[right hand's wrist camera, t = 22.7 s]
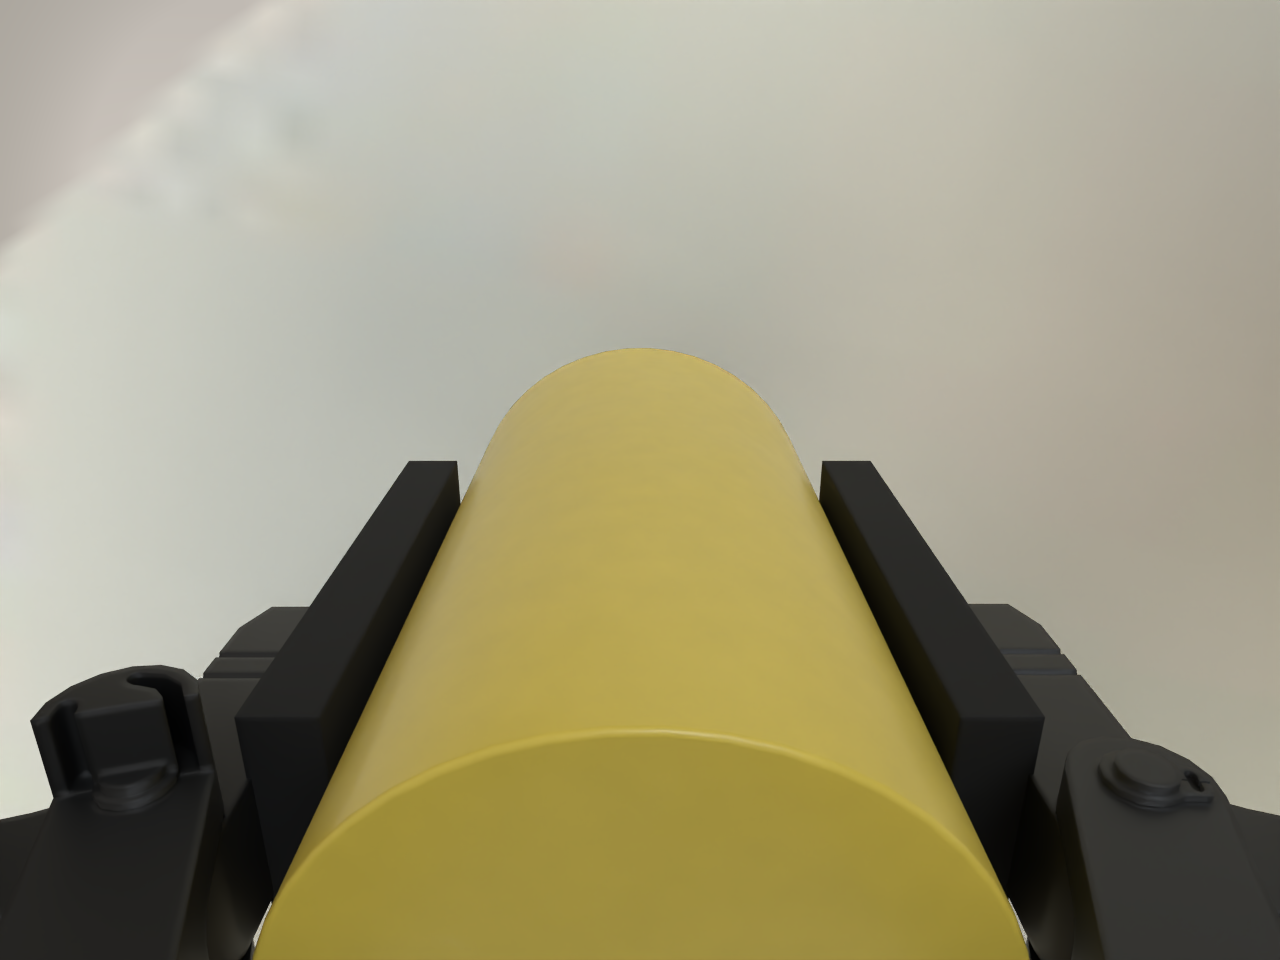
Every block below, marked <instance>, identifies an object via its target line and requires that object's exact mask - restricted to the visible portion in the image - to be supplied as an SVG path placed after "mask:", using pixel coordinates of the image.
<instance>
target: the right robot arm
mask: <svg viewBox="0 0 1280 960" xmlns="http://www.w3.org/2000/svg"><path fill="white" fill-rule="evenodd" d="M819 502H820V504H821V506H822V508H823V511H824V513H825V515H826V517H827V519H828V521H829V523H830V525H831V527H832V530H833V532H834V534H835V536H836V538H837V540H838V542H839V544H840V546H841V549H842V551H843V553H844V555H845V557H846V559H847V561H848V563H849V565H850V568H851V570H852V572H853V574H854V576H855V578H856V580H857V582H858V584H859V587H860V589H861V591H862V593H863V595H864V597H865V599H866V601H867V603H868V606H869V608H870V610H871V612H872V614H873V616H874V618H875V620H876V622H877V625H878V627H879V629H880V631H881V633H882V635H883V637H884V639H885V641H886V644H887V646H888V648H889V650H890V652H891V654H892V656H893V658H894V660H895V662H896V665H897V667H898V669H899V671H900V673H901V675H902V677H903V679H904V681H905V684H906V686H907V688H908V690H909V692H910V694H911V696H912V698H913V700H914V703H915V705H916V707H917V709H918V711H919V713H920V715H921V717H922V719H923V722H924V724H925V726H926V728H927V730H928V732H929V734H930V736H931V738H932V741H933V743H934V745H935V747H936V749H937V751H938V753H939V755H940V757H941V760H942V762H943V764H944V766H945V768H946V770H947V772H948V774H949V776H950V779H951V781H952V783H953V785H954V787H955V789H956V791H957V793H958V795H959V798H960V800H961V802H962V804H963V806H964V808H965V810H966V812H967V814H968V817H969V819H970V821H971V823H972V825H973V827H974V829H975V831H976V833H977V836H978V838H979V840H980V842H981V844H982V846H983V848H984V850H985V852H986V855H987V857H988V859H989V861H990V863H991V865H992V867H993V869H994V871H995V873H996V876H997V878H998V880H999V882H1000V884H1001V886H1002V888H1003V890H1004V892H1005V895H1006V897H1007V899H1008V900H1009V898H1010V901H1011V903H1012V905H1013V907H1014V909H1015V911H1016V913H1017V915H1018V917H1019V919H1020V922H1021V924H1022V926H1023V928H1024V930H1025V932H1026V934H1027V936H1028V937H1027V941H1026V947H1027V949H1028V953H1029V959H1030V960H1280V816H1279V815H1274V814H1269V813H1264V812H1260V811H1255V810H1250V809H1246V808H1242V807H1239V806H1235V805H1231V804H1230V803H1229V801H1228V799H1227V797H1226V795H1225V794H1224V793H1223V791H1222V790H1221V789H1220V787H1219V786H1218V784H1217V783H1216V782H1215V780H1214V779H1213V778H1212V777H1211V776H1210V775H1209V774H1207V773H1206V772H1205V771H1203V770H1202V769H1201V768H1199V767H1198V766H1197V765H1195V764H1194V763H1193V762H1191V761H1190V760H1189V759H1187V758H1184V757H1182V756H1180V755H1178V754H1176V753H1174V752H1172V751H1170V750H1168V749H1165V748H1163V747H1161V746H1158V745H1155V744H1151V743H1147V742H1144V741H1140V740H1136V739H1132V738H1131V737H1130V736H1129V735H1128V734H1127V732H1126V731H1125V730H1124V729H1123V727H1122V726H1121V725H1120V724H1119V722H1118V721H1117V720H1116V719H1115V717H1114V716H1113V715H1112V714H1111V712H1110V711H1109V710H1108V709H1107V707H1106V706H1105V705H1104V704H1103V702H1102V701H1101V700H1100V699H1099V697H1098V696H1097V695H1096V693H1095V692H1094V691H1093V690H1092V688H1091V687H1090V686H1089V685H1088V683H1087V682H1086V681H1085V680H1084V678H1083V677H1082V676H1081V675H1077V670H1076V668H1075V667H1074V666H1073V665H1072V663H1071V662H1070V661H1069V660H1068V658H1067V657H1066V656H1065V655H1064V654H1061V653H1060V648H1059V647H1058V646H1057V645H1056V643H1055V642H1054V641H1053V640H1052V638H1051V637H1050V636H1049V635H1048V633H1047V632H1046V631H1045V630H1044V628H1043V627H1042V626H1041V625H1040V624H1038V623H1037V622H1035V621H1034V620H1032V619H1031V618H1029V617H1027V616H1026V615H1024V614H1023V613H1021V612H1020V611H1018V610H1016V609H1015V608H1013V607H1012V606H1010V605H1009V604H968V603H967V602H966V600H965V599H964V597H963V596H962V595H961V593H960V592H959V590H958V589H957V587H956V586H955V584H954V583H953V581H952V580H951V578H950V577H949V575H948V574H947V573H946V571H945V570H944V568H943V567H942V565H941V564H940V562H939V561H938V559H937V558H936V556H935V555H934V553H933V552H932V551H931V549H930V548H929V546H928V545H927V543H926V542H925V540H924V539H923V537H922V536H921V534H920V533H919V531H918V530H917V529H916V527H915V526H914V524H913V523H912V521H911V520H910V518H909V517H908V515H907V514H906V512H905V511H904V510H903V508H902V507H901V505H900V504H899V502H898V501H897V499H896V498H895V496H894V495H893V493H892V492H891V490H890V489H889V488H888V486H887V485H886V483H885V482H884V480H883V479H882V477H881V476H880V474H879V473H878V471H877V470H876V468H875V467H874V466H873V464H872V463H871V461H822V473H821V485H820V497H819ZM459 507H460V492H459V480H458V468H457V461H409V462H408V463H407V465H406V466H405V468H404V469H403V471H402V472H401V473H400V475H399V476H398V478H397V479H396V481H395V482H394V484H393V485H392V487H391V488H390V490H389V491H388V492H387V494H386V495H385V497H384V498H383V500H382V501H381V503H380V504H379V506H378V507H377V509H376V510H375V512H374V513H373V514H372V516H371V517H370V519H369V520H368V522H367V523H366V525H365V526H364V528H363V529H362V531H361V532H360V534H359V535H358V536H357V538H356V539H355V541H354V542H353V544H352V545H351V547H350V548H349V550H348V551H347V553H346V554H345V555H344V557H343V558H342V560H341V561H340V563H339V564H338V566H337V567H336V569H335V570H334V572H333V573H332V575H331V576H330V577H329V579H328V580H327V582H326V583H325V585H324V586H323V588H322V589H321V591H320V592H319V594H318V595H317V597H316V598H315V599H314V601H313V602H312V604H311V605H310V607H271V608H269V609H268V610H266V611H265V612H263V613H262V614H260V615H259V616H257V617H255V618H254V619H252V620H251V621H249V622H248V623H246V624H245V625H243V626H241V627H240V628H239V629H238V630H237V631H236V633H235V634H234V635H233V636H232V638H231V639H230V640H229V641H228V643H227V644H226V645H225V646H224V648H223V649H222V650H221V651H220V656H219V657H216V658H215V659H214V660H213V662H212V663H211V664H210V665H209V667H208V668H207V669H206V670H205V672H204V673H203V678H199V679H198V680H197V679H195V678H194V677H193V676H191V675H190V674H189V673H188V672H186V671H185V670H183V669H178V668H174V667H169V666H164V665H152V666H133V667H128V668H124V669H120V670H116V671H111V672H107V673H103V674H100V675H97V676H95V677H92V678H90V679H88V680H85V681H83V682H80V683H78V684H76V685H73V686H71V687H69V688H68V689H66V690H65V691H63V692H62V693H60V694H58V695H57V696H55V697H54V698H52V699H51V700H49V701H48V702H46V703H45V704H44V705H43V707H42V708H41V709H40V710H39V711H38V712H37V714H36V715H35V716H34V717H33V718H32V719H31V720H30V722H31V725H32V728H33V732H34V735H35V738H36V741H37V745H38V748H39V751H40V755H41V758H42V761H43V765H44V768H45V771H46V774H47V778H48V781H49V784H50V788H51V791H52V794H53V797H54V798H53V801H52V803H51V805H50V807H49V808H48V809H44V810H41V811H37V812H33V813H29V814H24V815H20V816H15V817H10V818H6V819H1V820H0V960H252V956H253V953H254V950H255V946H254V941H253V938H254V935H255V933H256V931H257V929H258V927H259V925H260V923H261V921H262V919H263V916H264V914H265V912H266V910H267V908H268V906H269V904H270V902H271V903H273V901H274V899H275V897H276V895H277V893H278V890H279V888H280V886H281V884H282V882H283V880H284V878H285V876H286V874H287V871H288V869H289V867H290V865H291V863H292V861H293V859H294V857H295V854H296V852H297V850H298V848H299V846H300V844H301V842H302V840H303V837H304V835H305V833H306V831H307V829H308V827H309V825H310V823H311V821H312V818H313V816H314V814H315V812H316V810H317V808H318V806H319V804H320V801H321V799H322V797H323V795H324V793H325V791H326V789H327V787H328V784H329V782H330V780H331V778H332V776H333V774H334V772H335V770H336V768H337V765H338V763H339V761H340V759H341V757H342V755H343V753H344V751H345V748H346V746H347V744H348V742H349V740H350V738H351V736H352V734H353V731H354V729H355V727H356V725H357V723H358V721H359V719H360V717H361V714H362V712H363V710H364V708H365V706H366V704H367V702H368V700H369V698H370V695H371V693H372V691H373V689H374V687H375V685H376V683H377V681H378V678H379V676H380V674H381V672H382V670H383V668H384V666H385V664H386V661H387V659H388V657H389V655H390V653H391V651H392V649H393V647H394V645H395V642H396V640H397V638H398V636H399V634H400V632H401V630H402V628H403V625H404V623H405V621H406V619H407V617H408V615H409V613H410V611H411V608H412V606H413V604H414V602H415V600H416V598H417V596H418V594H419V592H420V589H421V587H422V585H423V583H424V581H425V579H426V577H427V575H428V572H429V570H430V568H431V566H432V564H433V562H434V560H435V558H436V555H437V553H438V551H439V549H440V547H441V545H442V543H443V541H444V539H445V536H446V534H447V532H448V530H449V528H450V526H451V524H452V522H453V519H454V517H455V515H456V513H457V511H458V509H459Z"/></svg>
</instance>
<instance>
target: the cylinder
mask: <svg viewBox="0 0 1280 960" xmlns="http://www.w3.org/2000/svg"><path fill="white" fill-rule="evenodd" d="M252 960H1030V959H1029V953H1028V949H1027V947H1026V944H1025V941H1024V938H1023V935H1022V933H1021V930H1020V927H1019V924H1018V922H1017V919H1016V916H1015V914H1014V911H1013V909H1012V907H1011V905H1010V903H1009V901H1008V899H1007V897H1006V895H1005V892H1004V890H1003V888H1002V886H1001V884H1000V882H999V880H998V878H997V876H996V873H995V871H994V869H993V867H992V865H991V863H990V861H989V859H988V857H987V855H986V852H985V850H984V848H983V846H982V844H981V842H980V840H979V838H978V836H977V833H976V831H975V829H974V827H973V825H972V823H971V821H970V819H969V817H968V814H967V812H966V810H965V808H964V806H963V804H962V802H961V800H960V798H959V795H958V793H957V791H956V789H955V787H954V785H953V783H952V781H951V779H950V776H949V774H948V772H947V770H946V768H945V766H944V764H943V762H942V760H941V757H940V755H939V753H938V751H937V749H936V747H935V745H934V743H933V741H932V738H931V736H930V734H929V732H928V730H927V728H926V726H925V724H924V722H923V719H922V717H921V715H920V713H919V711H918V709H917V707H916V705H915V703H914V700H913V698H912V696H911V694H910V692H909V690H908V688H907V686H906V684H905V681H904V679H903V677H902V675H901V673H900V671H899V669H898V667H897V665H896V662H895V660H894V658H893V656H892V654H891V652H890V650H889V648H888V646H887V644H886V641H885V639H884V637H883V635H882V633H881V631H880V629H879V627H878V625H877V622H876V620H875V618H874V616H873V614H872V612H871V610H870V608H869V606H868V603H867V601H866V599H865V597H864V595H863V593H862V591H861V589H860V587H859V584H858V582H857V580H856V578H855V576H854V574H853V572H852V570H851V568H850V565H849V563H848V561H847V559H846V557H845V555H844V553H843V551H842V549H841V546H840V544H839V542H838V540H837V538H836V536H835V534H834V532H833V530H832V527H831V525H830V523H829V521H828V519H827V517H826V515H825V513H824V511H823V508H822V506H821V504H820V502H819V500H818V498H817V496H816V494H815V492H814V489H813V487H812V485H811V483H810V481H809V479H808V477H807V475H806V473H805V470H804V468H803V466H802V464H801V462H800V460H799V458H798V456H797V454H796V452H795V449H794V447H793V445H792V443H791V441H790V439H789V437H788V435H787V433H786V432H785V430H784V428H783V426H782V424H781V423H780V421H779V419H778V418H777V417H776V415H775V414H774V413H773V411H772V410H771V409H770V407H769V406H768V405H767V403H766V402H765V401H764V400H763V399H762V398H761V397H759V396H758V395H757V394H756V393H755V392H754V391H753V390H752V389H751V388H750V387H749V386H747V385H746V384H745V383H744V382H742V381H741V380H740V379H738V378H737V377H736V376H734V375H732V374H731V373H729V372H727V371H725V370H724V369H722V368H720V367H718V366H716V365H714V364H712V363H709V362H707V361H704V360H702V359H699V358H697V357H694V356H691V355H687V354H683V353H679V352H675V351H669V350H661V349H652V348H627V349H620V350H613V351H605V352H602V353H598V354H594V355H591V356H587V357H584V358H581V359H579V360H576V361H574V362H572V363H569V364H567V365H565V366H562V367H561V368H559V369H557V370H556V371H554V372H552V373H551V374H549V375H547V376H545V377H544V378H543V379H541V380H540V381H539V382H537V383H536V384H535V385H534V386H532V387H531V388H530V389H529V390H527V391H526V392H525V393H524V394H523V395H522V396H521V398H520V399H519V400H518V401H517V402H516V403H515V404H514V405H513V406H512V407H511V409H510V410H509V411H508V413H507V414H506V415H505V417H504V418H503V419H502V421H501V422H500V424H499V426H498V428H497V430H496V432H495V433H494V435H493V437H492V439H491V441H490V443H489V445H488V447H487V449H486V452H485V454H484V456H483V458H482V460H481V462H480V464H479V466H478V469H477V471H476V473H475V475H474V477H473V479H472V481H471V483H470V486H469V488H468V490H467V492H466V494H465V496H464V498H463V500H462V502H461V505H460V507H459V509H458V511H457V513H456V515H455V517H454V519H453V522H452V524H451V526H450V528H449V530H448V532H447V534H446V536H445V539H444V541H443V543H442V545H441V547H440V549H439V551H438V553H437V555H436V558H435V560H434V562H433V564H432V566H431V568H430V570H429V572H428V575H427V577H426V579H425V581H424V583H423V585H422V587H421V589H420V592H419V594H418V596H417V598H416V600H415V602H414V604H413V606H412V608H411V611H410V613H409V615H408V617H407V619H406V621H405V623H404V625H403V628H402V630H401V632H400V634H399V636H398V638H397V640H396V642H395V645H394V647H393V649H392V651H391V653H390V655H389V657H388V659H387V661H386V664H385V666H384V668H383V670H382V672H381V674H380V676H379V678H378V681H377V683H376V685H375V687H374V689H373V691H372V693H371V695H370V698H369V700H368V702H367V704H366V706H365V708H364V710H363V712H362V714H361V717H360V719H359V721H358V723H357V725H356V727H355V729H354V731H353V734H352V736H351V738H350V740H349V742H348V744H347V746H346V748H345V751H344V753H343V755H342V757H341V759H340V761H339V763H338V765H337V768H336V770H335V772H334V774H333V776H332V778H331V780H330V782H329V784H328V787H327V789H326V791H325V793H324V795H323V797H322V799H321V801H320V804H319V806H318V808H317V810H316V812H315V814H314V816H313V818H312V821H311V823H310V825H309V827H308V829H307V831H306V833H305V835H304V837H303V840H302V842H301V844H300V846H299V848H298V850H297V852H296V854H295V857H294V859H293V861H292V863H291V865H290V867H289V869H288V871H287V874H286V876H285V878H284V880H283V882H282V884H281V886H280V888H279V890H278V893H277V895H276V897H275V899H274V901H273V903H272V905H271V907H270V910H269V912H268V914H267V916H266V918H265V920H264V923H263V926H262V929H261V932H260V935H259V938H258V941H257V944H256V947H255V950H254V953H253V956H252Z"/></svg>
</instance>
